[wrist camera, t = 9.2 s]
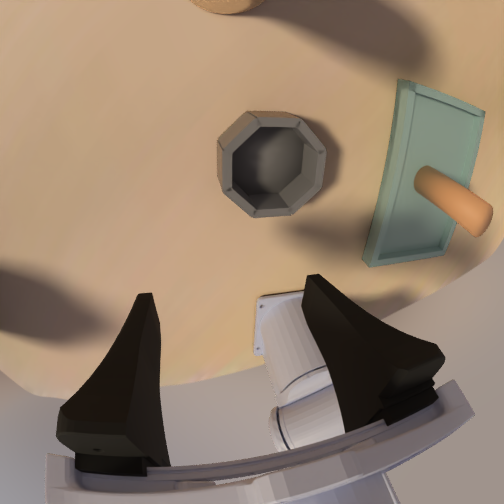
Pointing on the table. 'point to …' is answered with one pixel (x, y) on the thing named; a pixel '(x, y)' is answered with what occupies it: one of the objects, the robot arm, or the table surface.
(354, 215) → the table surface
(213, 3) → the beer glass
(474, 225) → the dowel
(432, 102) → the tray
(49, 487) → the robot arm
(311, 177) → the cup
